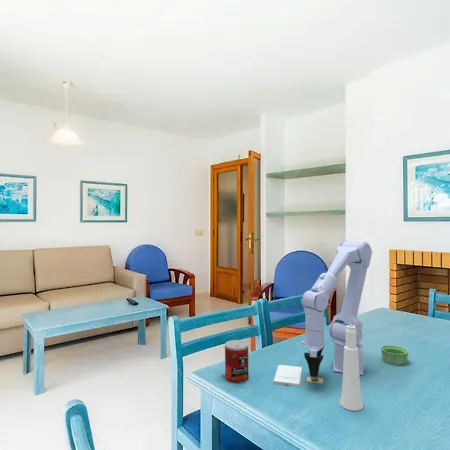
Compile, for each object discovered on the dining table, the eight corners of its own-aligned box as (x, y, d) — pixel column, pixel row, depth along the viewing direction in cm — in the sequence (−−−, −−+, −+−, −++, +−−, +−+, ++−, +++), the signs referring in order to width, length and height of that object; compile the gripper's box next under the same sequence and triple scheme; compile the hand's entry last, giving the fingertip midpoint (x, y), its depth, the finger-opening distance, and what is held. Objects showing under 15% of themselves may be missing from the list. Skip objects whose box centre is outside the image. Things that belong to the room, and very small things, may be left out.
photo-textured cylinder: (318, 378, 111) (318, 357, 111) (318, 382, 108) (318, 360, 108) (311, 377, 111) (310, 356, 111) (310, 381, 109) (310, 359, 109)
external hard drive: (302, 371, 118) (299, 388, 106) (278, 369, 120) (273, 385, 108) (302, 366, 118) (299, 383, 106) (278, 364, 120) (273, 380, 108)
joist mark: (323, 379, 111) (323, 378, 111) (322, 383, 108) (322, 383, 108) (307, 377, 112) (307, 376, 112) (306, 381, 109) (306, 380, 109)
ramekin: (411, 360, 125) (411, 348, 125) (404, 368, 118) (404, 356, 118) (385, 354, 131) (385, 342, 131) (377, 361, 124) (377, 349, 124)
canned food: (232, 385, 107) (232, 350, 107) (220, 374, 115) (220, 342, 114) (253, 379, 111) (253, 345, 111) (240, 370, 118) (240, 338, 118)
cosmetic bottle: (342, 397, 99) (342, 321, 99) (364, 402, 96) (364, 324, 96) (337, 407, 94) (337, 327, 94) (361, 413, 91) (360, 330, 91)
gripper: (303, 321, 118) (304, 360, 118) (299, 334, 104) (299, 379, 104) (325, 323, 116) (325, 363, 116) (323, 337, 102) (323, 382, 102)
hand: (314, 371), depth 110 cm, fingers open, 7 cm apart
